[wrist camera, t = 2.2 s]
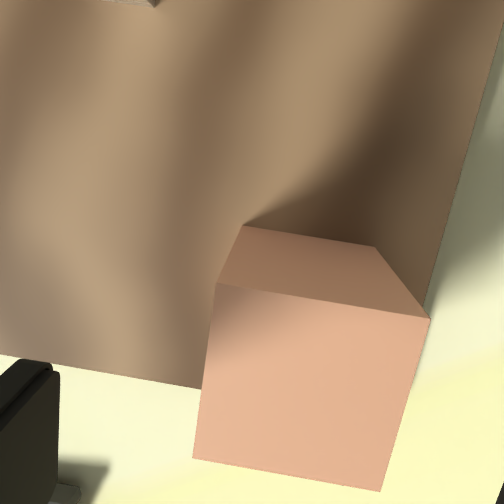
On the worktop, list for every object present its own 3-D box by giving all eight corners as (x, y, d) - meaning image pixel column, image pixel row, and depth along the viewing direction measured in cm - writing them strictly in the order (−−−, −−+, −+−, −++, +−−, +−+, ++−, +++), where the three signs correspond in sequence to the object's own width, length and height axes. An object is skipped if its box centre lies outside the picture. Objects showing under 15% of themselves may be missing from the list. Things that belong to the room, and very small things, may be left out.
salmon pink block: (374, 246, 16) (431, 318, 10) (346, 364, 18) (380, 492, 12) (241, 225, 17) (215, 283, 10) (224, 343, 18) (192, 457, 12)
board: (520, -103, 14) (546, -129, 13) (381, 401, 20) (389, 422, 19) (3, -175, 15) (-27, -208, 13) (8, 336, 20) (-13, 352, 19)
